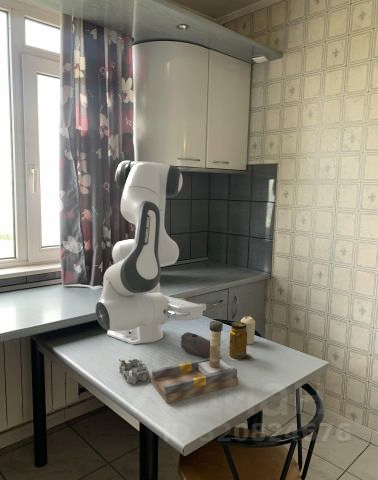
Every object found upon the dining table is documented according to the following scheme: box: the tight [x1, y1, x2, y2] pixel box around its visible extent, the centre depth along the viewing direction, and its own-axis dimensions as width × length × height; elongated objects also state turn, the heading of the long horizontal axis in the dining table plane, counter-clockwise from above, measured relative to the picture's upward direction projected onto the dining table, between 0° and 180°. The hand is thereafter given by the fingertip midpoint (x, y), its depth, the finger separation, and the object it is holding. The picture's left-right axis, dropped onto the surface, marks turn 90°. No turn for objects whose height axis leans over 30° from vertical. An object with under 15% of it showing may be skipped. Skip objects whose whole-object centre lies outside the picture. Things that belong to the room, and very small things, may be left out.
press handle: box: [198, 320, 232, 375], centre depth 117 cm, size 8×7×16 cm
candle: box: [240, 315, 256, 345], centre depth 146 cm, size 6×6×10 cm
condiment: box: [226, 321, 255, 362], centre depth 133 cm, size 7×8×12 cm
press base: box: [150, 355, 239, 404], centre depth 115 cm, size 24×12×4 cm, turn 117°
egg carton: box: [118, 357, 150, 384], centre depth 119 cm, size 11×8×4 cm
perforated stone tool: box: [180, 331, 210, 359], centre depth 133 cm, size 15×5×7 cm, turn 53°
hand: (194, 304), depth 111 cm, fingers open, 8 cm apart
